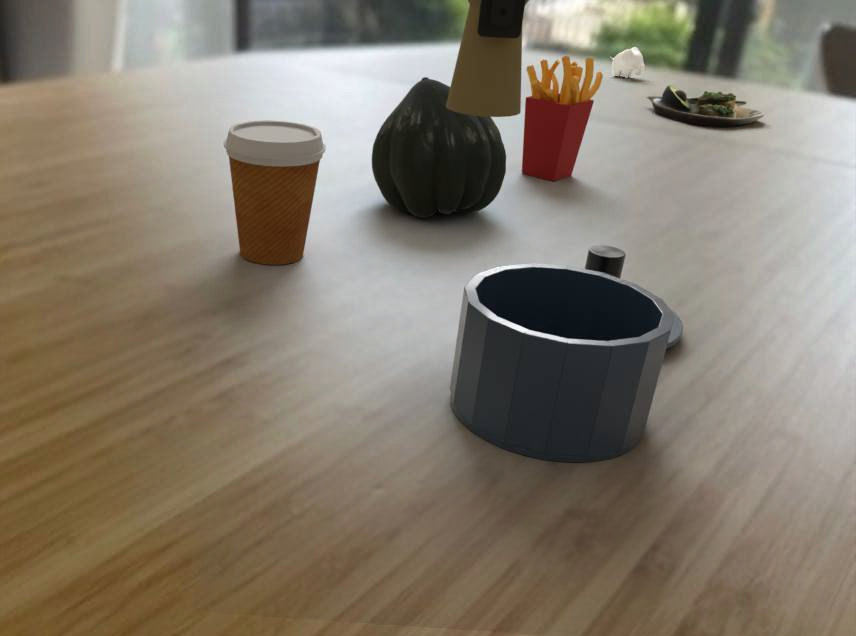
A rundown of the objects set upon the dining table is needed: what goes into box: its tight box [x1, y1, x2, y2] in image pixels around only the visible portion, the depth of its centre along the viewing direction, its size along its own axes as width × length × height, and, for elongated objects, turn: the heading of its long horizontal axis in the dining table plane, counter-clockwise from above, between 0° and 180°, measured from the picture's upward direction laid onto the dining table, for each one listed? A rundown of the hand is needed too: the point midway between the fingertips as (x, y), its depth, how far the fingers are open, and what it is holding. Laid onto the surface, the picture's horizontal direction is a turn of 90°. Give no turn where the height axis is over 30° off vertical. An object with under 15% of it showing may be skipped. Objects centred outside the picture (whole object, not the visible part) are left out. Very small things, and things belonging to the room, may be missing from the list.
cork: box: [446, 0, 530, 118], centre depth 71 cm, size 6×6×11 cm
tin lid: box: [584, 244, 684, 350], centre depth 77 cm, size 15×15×7 cm
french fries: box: [521, 55, 604, 182], centre depth 119 cm, size 9×8×15 cm
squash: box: [371, 76, 507, 219], centre depth 102 cm, size 14×15×15 cm
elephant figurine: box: [611, 46, 646, 79], centre depth 193 cm, size 7×8×6 cm
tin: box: [449, 262, 675, 463], centre depth 63 cm, size 14×14×8 cm
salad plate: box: [645, 84, 764, 128], centre depth 161 cm, size 19×18×5 cm
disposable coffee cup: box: [223, 120, 327, 266], centre depth 87 cm, size 10×10×12 cm
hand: (493, 29), depth 70 cm, fingers closed on cork, 5 cm apart
